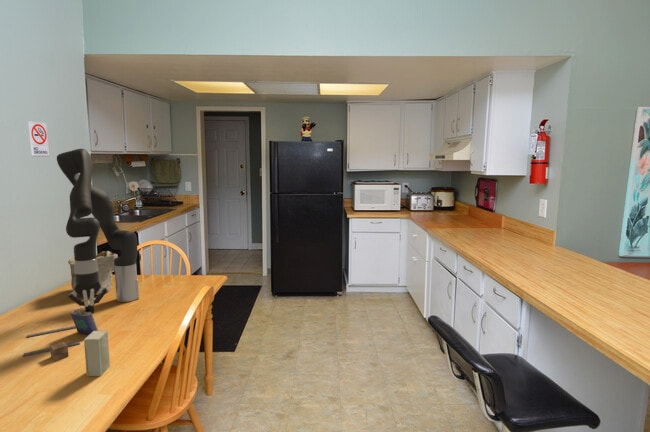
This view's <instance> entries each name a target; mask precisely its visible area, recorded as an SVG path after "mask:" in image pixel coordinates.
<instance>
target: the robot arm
mask: <svg viewBox="0 0 650 432" xmlns="http://www.w3.org/2000/svg"><path fill="white" fill-rule="evenodd" d="M56 162H57V165H58V167H59V168H60V170H61V171H62V173H63V174H64V176H65V177H66V178H67V180H69V182H70V184H72V186H73V187H72V188H71V191H70V193H69V207H70V208H69V209H70V212H69V216H68V220H67V222H66V225H65V231H66V234H67V235H68V236H69V237H70V238H75V239H77V238H87V237H88V239H87V240H85V241H83V242H79V243H77V244H74V246H73V258H74V259H75V263H74V269H75V270H74V272H75V282H76V286H75V289H74V291H72V292H70V293H68V298H69V299H71V300H72V301H73V302H75V304H77V305H78V306H80V307H84V312H92V314H95V305H96V304H99V303H100V301H101V300H102V299H103V298H104V296H105V294H107V293H108V292H107V289H106V288H103V287H101V285H100V283H99V274H98V263H97V258H96V255H97V240H98V235H99V232H100V229H101V230H102V233H103V235H104V237H105V239H106V242H107V243H108V245H109V246H110V247H111V248H112V249H113V250H116V251H117V250H118V251H121V252H120V256H118V257H117V258H115V259H114V269H115V270H114V281H115V297H116V301H117V302H118V303H127V302H133V301H136V300H139V299H140V294H139V293H140V292H139V280H138V279H139V278H138V274H137V272H138V271H137V258H138V237H137V235H136V234H137V233H135V232H134V231H132V230H122V229H120V227H119V226H118V225H117V223H116V222H115V219H114V217H115V206H114V204H113V202H112V200H111V199H110V197H109V196H108V194H107V193H106V192H105V191H104V190H103V189H101V188H100V187H97V186H95V185H93V184H92V180H93V171H94V169H93V168H94V165H93V164H94V163H93V159H92V156H91V154H90V153H89V151H88V150H86V149H84V148H77V149H73V150H69V151H65V152H61V153H59V154H58V155H56ZM90 215H92V217H88V216H90ZM99 289H100V293H99V294H98V295H96V294H97V292H98V291H99ZM106 292H107V293H106ZM76 293H77V294H79V295H80V296H79V297H80V298H83V301H82V299H80V298H79V297H78V295H77V294H76ZM95 296H96V297H95Z"/></svg>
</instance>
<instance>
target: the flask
mask: <svg viewBox="0 0 650 432" xmlns="http://www.w3.org/2000/svg"><path fill="white" fill-rule="evenodd" d="M70 316H71V318H72V321H73V323H74V326H76V328H75V329H76V332H77V333H78V334H81V335H87V336H88V335H90V334H91V333H92V332H93V331H99V328H98V325H97V324H96V321H95V318H94V315H93V313H92V312H85V311H83V308H82V307H80V308H77V309H73V310H72V311H71V312H70Z"/></svg>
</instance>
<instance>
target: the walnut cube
mask: <svg viewBox="0 0 650 432" xmlns="http://www.w3.org/2000/svg"><path fill="white" fill-rule="evenodd" d="M67 344H68V343H66V342H64V341H62V342H58V343H55V344H52V345H50V346H49V348H50V351H49V352H50V358H51V359H52V360H53V361H54V362H57V361H59V360H62V359H65V358H67V357H68V358H69V357H70V356H69V347H68V345H67Z"/></svg>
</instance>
